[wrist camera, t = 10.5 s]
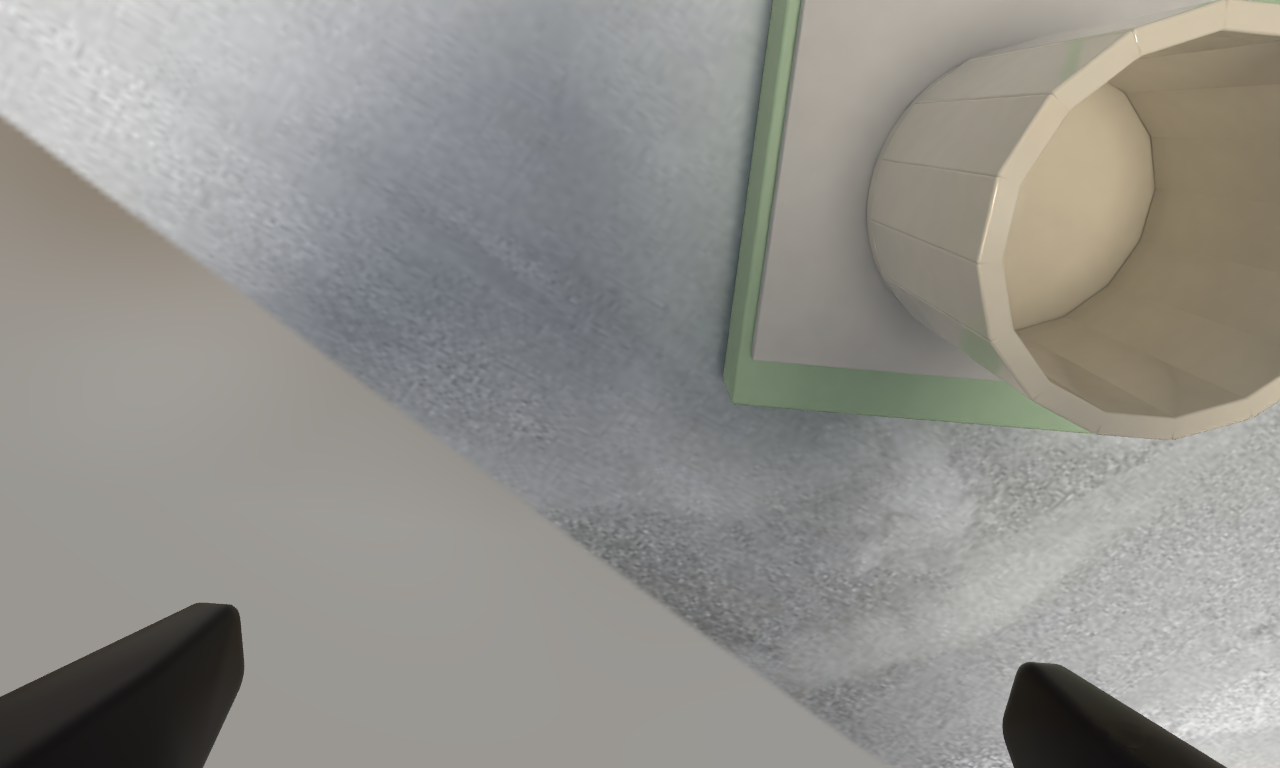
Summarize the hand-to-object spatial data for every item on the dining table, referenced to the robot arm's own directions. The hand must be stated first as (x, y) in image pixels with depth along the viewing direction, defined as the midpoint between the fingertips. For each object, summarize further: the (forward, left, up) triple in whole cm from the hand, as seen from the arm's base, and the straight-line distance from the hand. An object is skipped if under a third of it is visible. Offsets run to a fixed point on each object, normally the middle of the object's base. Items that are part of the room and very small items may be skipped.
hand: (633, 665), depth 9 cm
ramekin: (+5, -8, -10) cm, 14 cm away
